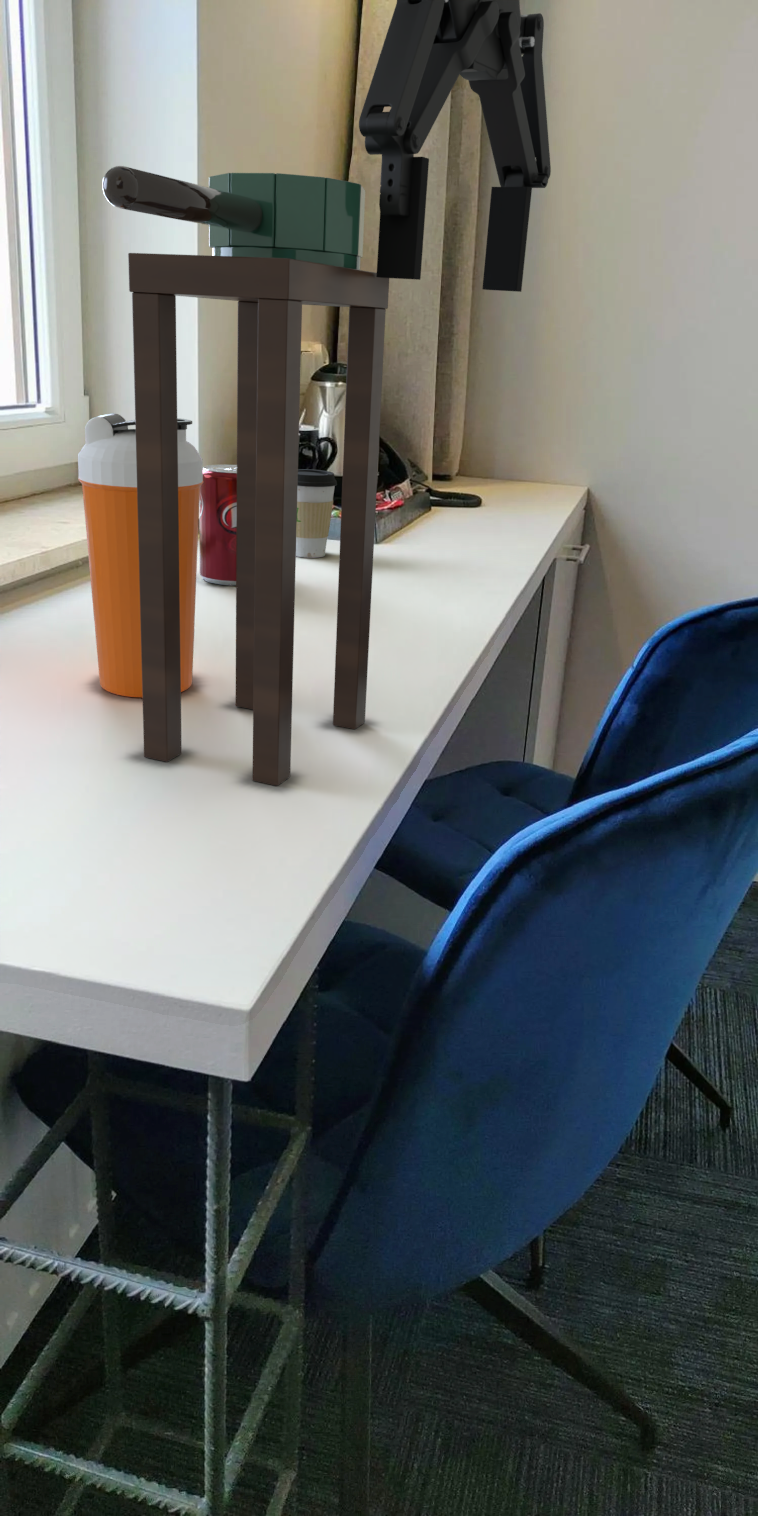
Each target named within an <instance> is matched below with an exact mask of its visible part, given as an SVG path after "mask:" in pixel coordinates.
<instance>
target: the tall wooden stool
mask: <svg viewBox="0 0 758 1516" xmlns="http://www.w3.org/2000/svg"><path fill="white" fill-rule="evenodd" d="M127 258H128V263H127V264H128V292H130V293H131V307H132V311H131V312H132V313H131V314H132V346H133V348H132V349H133V382H134V383H133V384H134V387H133V388H134V420H135V425H134V427H135V429H136V466H137V504H138V542H139V580H140V619H141V657H142V695H143V698H142V724H143V725H142V729H143V731H142V732H143V734H142V735H143V757H144V758H147V759H152V760H157V761H161V762H165V763H168V762H169V761H171V760H173V759H175V758H177V757H178V756H180V755H181V754H182V752H183V751H182V750H183V749H182V747H183V745H182V692H181V668H180V591H179V514H178V437H177V418H178V381H177V380H178V378H177V377H178V374H177V373H178V371H177V370H178V368H177V364H178V363H177V361H178V360H177V298H176V297H184V298H185V297H186V298H187V297H188V298H199V299H209V300H210V299H211V300H223V301H234V302H237V369H236V370H237V373H236V375H237V377H236V380H237V381H236V382H237V383H236V384H237V385H236V386H237V387H236V465H237V531H236V586H235V707H237V708H242V709H247V710H252V771H251V772H252V773H251V774H252V778H251V779H252V782H258V783H261V784H267V785H272V786H275V787H278V786H279V785H281V784H283V783H284V782H285V781H286V780H288V779H289V778H290V777H291V763H292V761H291V759H292V725H293V723H292V722H293V721H292V717H293V687H294V685H293V683H294V680H293V679H294V677H293V676H294V641H295V640H294V639H295V605H296V603H295V602H296V562H297V561H296V560H297V559H296V558H297V556H296V527H297V487H298V469H299V444H300V443H299V442H300V441H299V440H300V407H301V406H300V403H301V401H300V400H301V399H300V398H301V365H302V364H301V361H302V327H303V326H302V325H303V324H302V323H303V306H320V307H321V306H323V307H342V308H343V307H344V308H348V329H347V355H346V356H347V357H346V378H345V379H346V381H345V407H344V408H345V409H344V428H343V429H344V430H343V455H342V456H343V458H342V481H341V508H340V536H339V559H338V560H339V561H338V581H337V582H338V583H337V585H338V586H337V587H338V588H337V607H336V608H337V609H336V610H337V611H336V631H335V632H336V633H335V635H336V636H335V657H334V658H335V659H334V685H333V687H334V688H333V708H332V709H333V710H332V711H333V712H332V725H333V726H336V727H341V728H346V729H352V730H356V729H358V728H360V726H362V725H363V724H365V722H366V709H367V708H366V706H367V687H368V670H369V669H368V667H369V652H370V651H369V649H370V648H369V647H370V632H371V631H370V628H371V608H372V589H373V572H374V571H373V569H374V552H375V551H374V549H375V533H376V532H375V531H376V509H377V490H378V473H379V472H378V469H379V451H380V431H381V429H380V428H381V410H382V393H383V373H384V372H383V371H384V351H385V334H386V333H385V332H386V331H385V330H386V315H387V313H386V310H388V308H389V296H390V295H389V294H390V292H389V291H390V278H380V277H376V276H377V272H376V271H375V272H374V271H368V270H364V269H363V270H362V269H360V270H357V269H351V268H345V267H338V266H332V265H326V264H320V263H314V262H308V261H302V260H296V259H290V258H264V257H235V256H212V255H203V254H201V255H200V254H178V253H177V254H173V253H148V252H147V253H146V252H140V253H139V252H128V254H127Z"/></svg>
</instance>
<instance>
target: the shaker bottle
mask: <svg viewBox="0 0 758 1516" xmlns="http://www.w3.org/2000/svg"><path fill="white" fill-rule="evenodd" d="M190 425H193V420H191V419H187V418H178V417H177V437H178V514H179V591H180V668H181V693H182V692H185V691H186V690H188V689H190V688H191V686H192V684H193V673H194V648H195V647H194V645H195V620H196V619H195V618H196V596H197V572H198V571H197V570H198V547H199V545H198V544H199V496H200V486H201V485H202V484H203V467H204V464H203V463H204V462H203V461H204V460H203V458H202V455H200V453H199V452H198V450H197V448H196V447H195V446H194V445H193V444H192V443H190V442H189V441H187V429H188V426H190ZM129 426H135V419H131V420H126V418H124V417H123V416H122V415H121V414H119V413H116V412H115V413H114V412H110V413H107V414H103V415H97V416H93V417H92V418H90V419H89V420H88V421H87V422H86V424H85V426H84V439H85V440H84V441H85V443H84V445H83V446H82V448H81V450H80V451H79V452H78V453H77V468H78V469H77V471H78V473H77V474H78V478H77V480H78V481H79V483H81V489H82V499H83V510H84V520H85V522H84V523H85V533H86V543H87V544H86V545H87V554H88V555H87V557H88V566H89V575H90V576H89V577H90V589H91V598H92V611H93V622H94V623H93V624H94V632H95V633H94V634H95V644H96V655H97V666H98V678H99V679H98V680H99V685H100V687H101V688H102V689H103V690H104V691H106V692H108V693H110V694H113V695H117V696H122V697H128V698H129V697H130V698H142V699H143V695H142V657H141V619H140V580H139V542H138V504H137V466H136V428H129Z"/></svg>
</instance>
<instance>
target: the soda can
mask: <svg viewBox="0 0 758 1516" xmlns="http://www.w3.org/2000/svg"><path fill="white" fill-rule="evenodd" d="M236 531H237V464H207V465H203V484H202V485H201V486H200V496H199V521H198V544H199V545H198V547H199V575H200V576H201V578H202V579H203V580H204V581H205V582H207V583H211V584H214V585H221V586H232V587H233V586H235V587H236Z"/></svg>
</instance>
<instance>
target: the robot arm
mask: <svg viewBox="0 0 758 1516" xmlns="http://www.w3.org/2000/svg"><path fill="white" fill-rule="evenodd" d="M520 1H521V0H396V4H395V7H394V10H393V13H392V16H391V19H390V23H389V26H388V29H387V32H386V35H385V37H384V38H385V39H384V41H383V45H382V47H381V51H380V54H379V56H378V60H377V63H376V65H375V69H374V72H373V75H372V79H371V82H370V85H369V88H368V91H367V94H366V96H365V100H364V103H363V106H362V110H361V112H360V115H359V120H358V129H359V133H360V134H361V136H362V137H364V149H365V151H366V153H367V154H368V155H371V156H373V155H374V156H377V155H378V156H379V155H381V167H380V187H379V201H378V205H379V224H378V225H379V227H378V243H377V244H378V246H377V258H376V259H377V262H376V273H377V276H376V277H380V278H389V279H399V280H418V281H420V280H421V278H422V277H421V276H422V263H423V262H422V261H423V248H424V237H425V220H426V207H427V206H426V205H427V192H428V180H429V179H428V178H429V166H430V158H429V157H425V156H414V155H418V154H419V152H420V151H421V150H422V147H423V145H424V144H425V142H426V140H427V138H428V136H429V134H430V132H431V130H432V128H433V127H434V124H435V123H436V121H437V119H438V116H439V115H440V113H441V111H442V109H443V107H444V105H445V103H446V102H447V100H448V98H449V96H450V94H451V92H452V90H453V88H454V86H455V84H456V83H457V80H458V78H459V76H460V77H462V78H463V80H467V81H468V84H469V87H470V89H471V91H472V92H473V93H474V94H477V95H478V97H479V102H480V106H481V110H482V114H483V118H484V123H485V127H486V132H487V135H488V140H489V144H490V148H491V153H492V157H493V161H494V164H495V171H496V174H497V178H498V182H499V186H491V188H490V189H491V191H490V201H489V211H488V222H487V223H488V224H487V235H486V245H485V256H484V266H483V267H484V268H483V278H482V287H481V289H482V290H484V291H497V292H498V291H501V292H517V293H518V292H519V293H521V292H522V289H523V279H524V268H525V260H526V252H527V251H526V249H527V240H528V232H529V231H528V230H529V219H530V211H531V201H532V192H533V189H545V188H546V187H547V186H548V183H549V179H550V178H551V172H552V169H551V154H550V140H549V128H548V116H547V104H546V103H547V102H546V89H545V77H544V63H543V49H544V48H543V46H544V45H543V44H544V30H545V29H544V28H545V20H544V16H543V14H542V13H541V12H540V13H528V14H527V13H526V14H522V13H521V5H520V3H521V2H520ZM385 108H390V109H389V111H384V110H385Z"/></svg>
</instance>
